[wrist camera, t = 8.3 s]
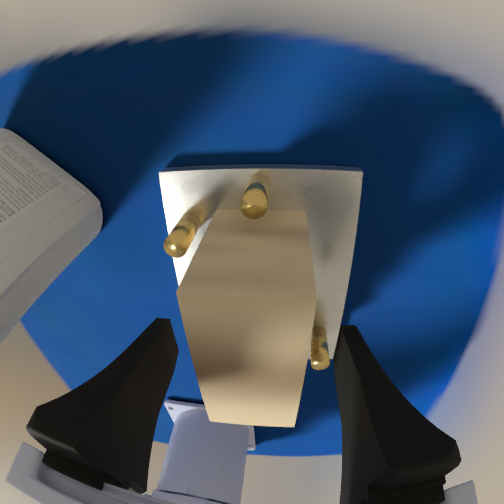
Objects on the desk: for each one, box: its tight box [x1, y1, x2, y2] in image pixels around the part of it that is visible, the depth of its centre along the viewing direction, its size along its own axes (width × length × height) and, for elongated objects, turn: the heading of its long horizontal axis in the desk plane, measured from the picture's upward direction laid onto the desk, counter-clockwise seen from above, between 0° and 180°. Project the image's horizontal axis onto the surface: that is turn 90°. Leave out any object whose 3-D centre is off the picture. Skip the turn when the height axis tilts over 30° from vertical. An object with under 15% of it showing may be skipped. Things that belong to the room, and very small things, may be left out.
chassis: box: [159, 164, 363, 370], centre depth 15 cm, size 12×9×3 cm
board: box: [176, 210, 317, 427], centre depth 13 cm, size 8×4×6 cm, turn 2°
